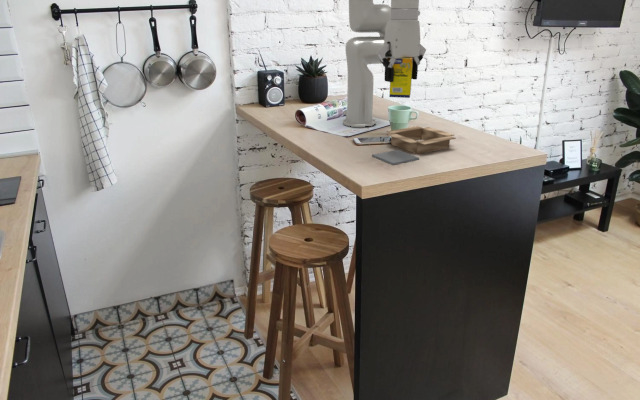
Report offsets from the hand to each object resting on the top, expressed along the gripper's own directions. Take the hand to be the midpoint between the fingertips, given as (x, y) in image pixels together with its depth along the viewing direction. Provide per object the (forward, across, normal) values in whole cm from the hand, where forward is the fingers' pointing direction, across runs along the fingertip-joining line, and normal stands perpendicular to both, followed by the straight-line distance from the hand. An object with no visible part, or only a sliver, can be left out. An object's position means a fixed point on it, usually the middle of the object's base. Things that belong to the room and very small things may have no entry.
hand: (400, 79), depth 149 cm
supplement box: (+5, 0, 0) cm, 5 cm away
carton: (+23, -14, -6) cm, 28 cm away
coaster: (+23, +1, 0) cm, 23 cm away
